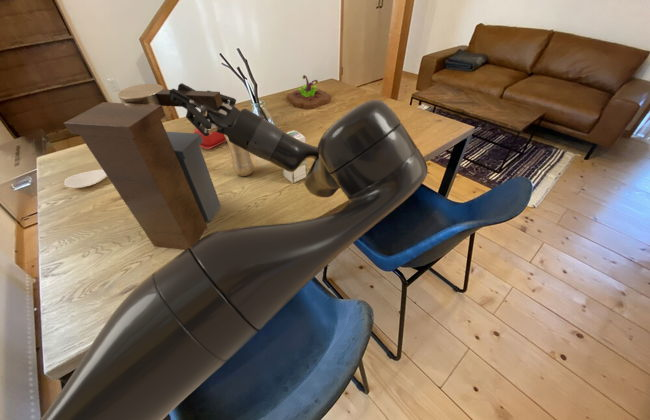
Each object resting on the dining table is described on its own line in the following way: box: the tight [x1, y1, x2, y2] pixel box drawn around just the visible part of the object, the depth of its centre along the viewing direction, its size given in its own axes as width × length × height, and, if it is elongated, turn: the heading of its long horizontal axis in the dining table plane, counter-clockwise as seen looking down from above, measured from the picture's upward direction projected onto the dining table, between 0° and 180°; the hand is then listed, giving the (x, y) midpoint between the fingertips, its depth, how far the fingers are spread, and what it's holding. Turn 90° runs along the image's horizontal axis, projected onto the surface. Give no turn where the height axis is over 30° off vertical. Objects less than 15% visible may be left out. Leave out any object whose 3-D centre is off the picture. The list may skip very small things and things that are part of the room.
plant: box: [286, 74, 332, 110], centre depth 132 cm, size 20×20×11 cm
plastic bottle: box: [224, 134, 255, 177], centre depth 83 cm, size 6×7×20 cm
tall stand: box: [63, 101, 208, 251], centre depth 59 cm, size 9×12×32 cm
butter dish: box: [194, 127, 227, 150], centre depth 103 cm, size 12×12×8 cm
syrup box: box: [281, 129, 308, 184], centre depth 83 cm, size 6×6×14 cm
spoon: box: [63, 168, 108, 189], centre depth 90 cm, size 9×32×4 cm, turn 122°
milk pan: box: [117, 83, 223, 121], centre depth 55 cm, size 8×20×5 cm, turn 82°
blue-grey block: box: [166, 131, 221, 224], centre depth 69 cm, size 8×12×22 cm, turn 82°
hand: (175, 90), depth 53 cm, fingers closed on milk pan, 2 cm apart
